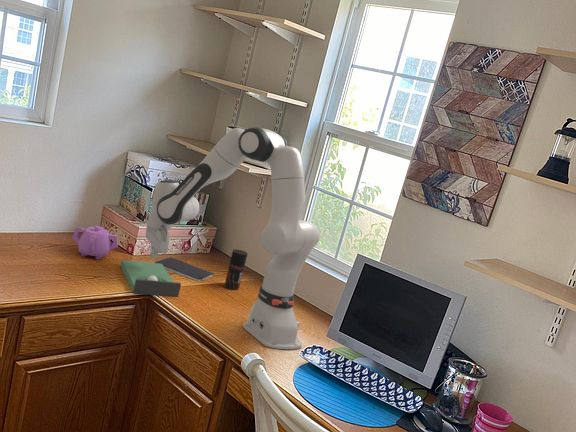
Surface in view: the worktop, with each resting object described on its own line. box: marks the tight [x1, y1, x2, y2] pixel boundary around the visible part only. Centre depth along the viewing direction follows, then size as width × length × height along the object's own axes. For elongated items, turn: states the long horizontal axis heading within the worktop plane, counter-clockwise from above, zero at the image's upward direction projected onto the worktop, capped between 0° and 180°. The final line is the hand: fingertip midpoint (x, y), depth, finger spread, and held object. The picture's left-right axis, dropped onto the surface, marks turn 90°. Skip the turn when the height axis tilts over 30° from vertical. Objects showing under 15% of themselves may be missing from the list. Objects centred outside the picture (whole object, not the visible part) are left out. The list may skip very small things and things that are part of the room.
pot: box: [71, 225, 119, 260], centre depth 233 cm, size 18×17×12 cm
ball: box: [147, 275, 158, 281], centre depth 216 cm, size 4×4×4 cm
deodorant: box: [223, 249, 248, 291], centre depth 237 cm, size 6×6×15 cm
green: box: [119, 259, 182, 298], centre depth 221 cm, size 27×16×5 cm, turn 26°
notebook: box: [154, 256, 215, 282], centre depth 244 cm, size 13×2×21 cm
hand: (153, 257), depth 225 cm, fingers closed
